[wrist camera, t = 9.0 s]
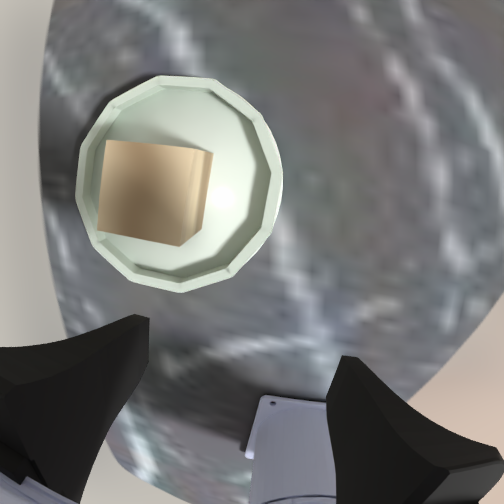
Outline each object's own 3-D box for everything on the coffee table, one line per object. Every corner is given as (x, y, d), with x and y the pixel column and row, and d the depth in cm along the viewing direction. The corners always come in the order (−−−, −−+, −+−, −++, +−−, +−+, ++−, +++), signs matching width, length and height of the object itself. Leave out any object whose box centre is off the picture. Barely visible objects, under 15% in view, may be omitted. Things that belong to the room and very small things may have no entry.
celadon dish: (300, 96, 17) (302, 88, 15) (260, 300, 20) (259, 312, 19) (105, 79, 17) (92, 73, 16) (83, 261, 21) (70, 268, 19)
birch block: (213, 153, 18) (193, 148, 13) (201, 228, 19) (179, 246, 14) (142, 144, 18) (106, 139, 13) (133, 216, 19) (96, 230, 15)
